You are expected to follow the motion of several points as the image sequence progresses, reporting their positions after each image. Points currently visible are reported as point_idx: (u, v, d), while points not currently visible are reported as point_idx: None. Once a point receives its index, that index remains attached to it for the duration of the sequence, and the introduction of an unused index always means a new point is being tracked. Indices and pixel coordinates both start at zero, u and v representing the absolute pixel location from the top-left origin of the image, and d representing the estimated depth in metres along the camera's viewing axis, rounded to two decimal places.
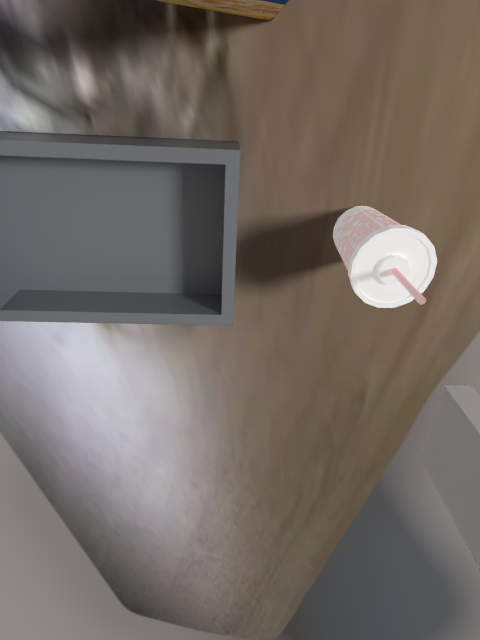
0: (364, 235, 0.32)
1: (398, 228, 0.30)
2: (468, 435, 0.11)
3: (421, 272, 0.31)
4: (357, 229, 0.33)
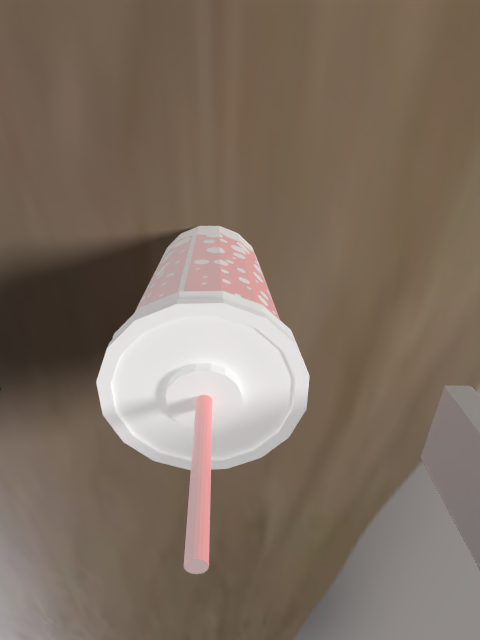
0: None
1: (193, 304, 0.11)
2: (467, 435, 0.11)
3: (275, 400, 0.13)
4: (152, 286, 0.15)
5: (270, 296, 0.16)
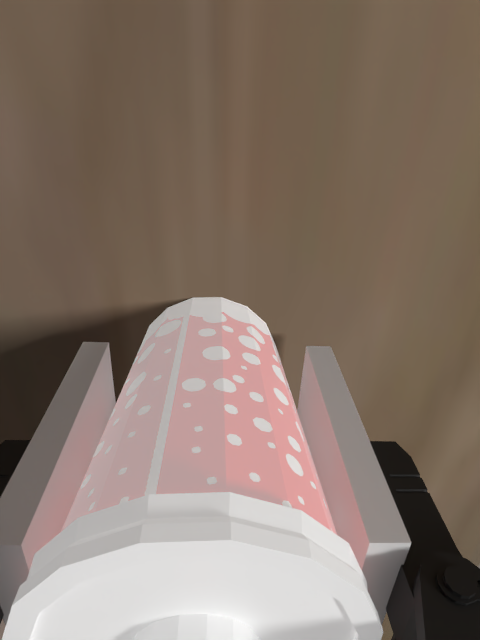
0: (93, 488, 0.08)
1: (173, 541, 0.06)
2: (313, 385, 0.12)
3: None
4: (116, 423, 0.09)
5: (299, 424, 0.11)
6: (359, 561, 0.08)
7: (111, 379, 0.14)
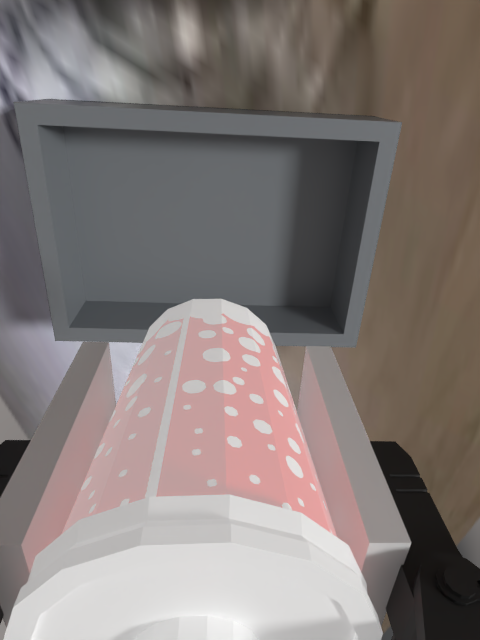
0: (93, 489, 0.08)
1: (173, 543, 0.06)
2: (313, 385, 0.12)
3: None
4: (116, 425, 0.09)
5: (298, 425, 0.11)
6: (359, 561, 0.08)
7: (111, 379, 0.14)
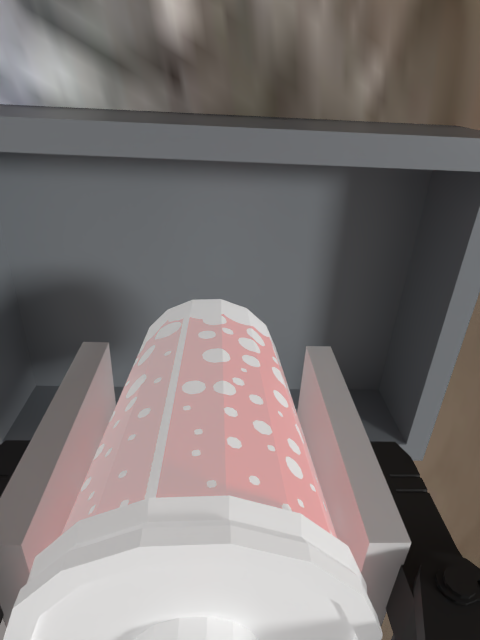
0: (93, 491, 0.08)
1: (173, 545, 0.06)
2: (313, 385, 0.12)
3: None
4: (116, 426, 0.09)
5: (298, 426, 0.11)
6: (359, 561, 0.08)
7: (111, 379, 0.14)
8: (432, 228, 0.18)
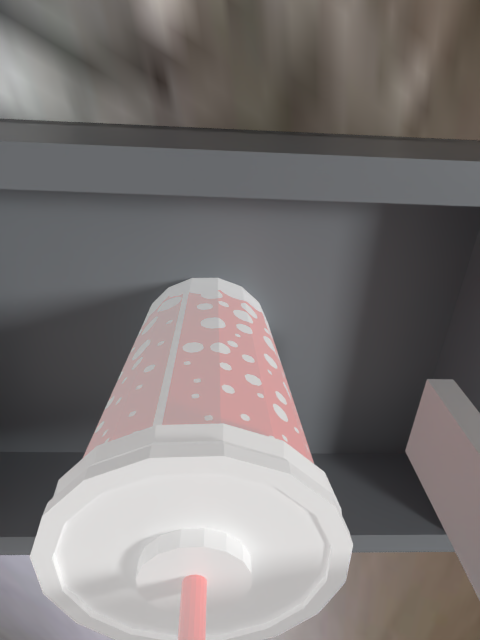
0: (106, 429, 0.09)
1: (177, 457, 0.07)
2: (447, 426, 0.11)
3: (299, 569, 0.09)
4: (124, 381, 0.11)
5: (286, 386, 0.12)
6: None
7: None
8: None
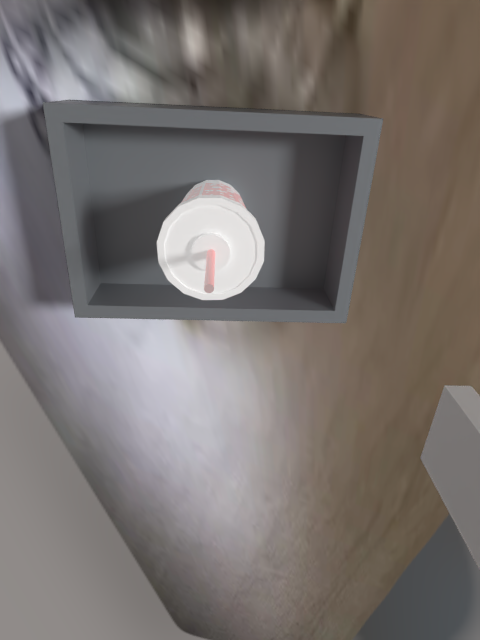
0: None
1: (206, 198, 0.23)
2: (467, 435, 0.11)
3: (247, 256, 0.25)
4: None
5: None
6: None
7: None
8: (345, 174, 0.30)
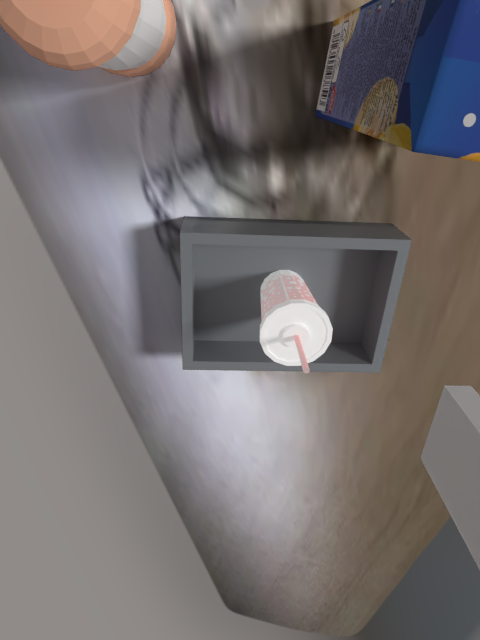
0: (273, 305, 0.37)
1: (296, 303, 0.35)
2: (467, 435, 0.11)
3: (320, 338, 0.37)
4: (270, 297, 0.39)
5: None
6: None
7: None
8: (381, 267, 0.42)
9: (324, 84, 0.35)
